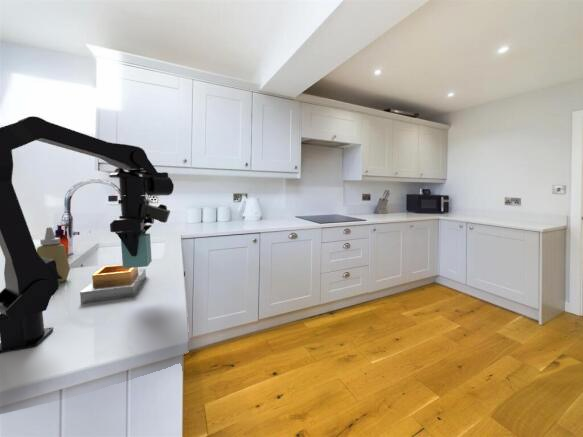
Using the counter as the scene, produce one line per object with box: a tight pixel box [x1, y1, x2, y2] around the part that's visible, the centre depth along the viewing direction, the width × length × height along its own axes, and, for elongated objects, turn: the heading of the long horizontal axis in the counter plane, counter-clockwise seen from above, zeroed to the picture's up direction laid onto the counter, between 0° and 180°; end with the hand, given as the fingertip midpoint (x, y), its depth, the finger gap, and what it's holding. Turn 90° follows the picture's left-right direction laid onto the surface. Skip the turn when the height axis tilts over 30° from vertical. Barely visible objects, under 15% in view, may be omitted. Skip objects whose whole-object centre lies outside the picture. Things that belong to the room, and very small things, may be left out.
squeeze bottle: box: [36, 226, 71, 284], centre depth 80 cm, size 8×8×18 cm
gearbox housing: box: [79, 264, 147, 304], centre depth 76 cm, size 19×12×6 cm, turn 21°
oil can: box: [120, 233, 153, 269], centre depth 67 cm, size 6×6×11 cm
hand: (137, 253), depth 67 cm, fingers closed on oil can, 6 cm apart
